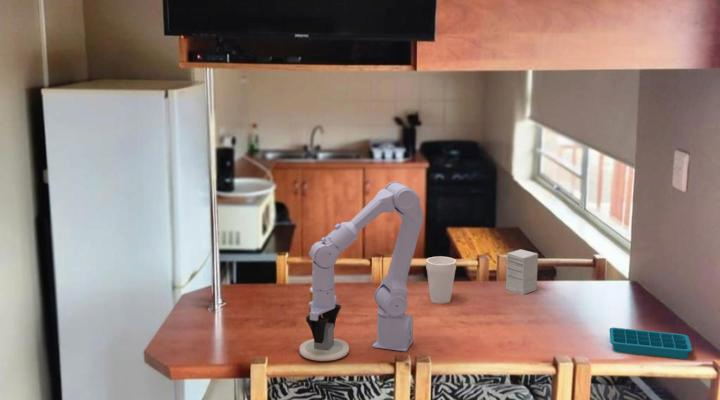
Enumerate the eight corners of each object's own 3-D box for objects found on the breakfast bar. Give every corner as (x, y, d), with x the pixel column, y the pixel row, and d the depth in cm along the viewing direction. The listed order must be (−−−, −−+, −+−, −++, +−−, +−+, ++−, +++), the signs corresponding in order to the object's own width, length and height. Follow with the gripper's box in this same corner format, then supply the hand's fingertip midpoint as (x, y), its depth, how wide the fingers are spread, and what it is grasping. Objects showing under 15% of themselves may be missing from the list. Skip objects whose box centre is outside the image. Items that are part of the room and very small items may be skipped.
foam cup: (425, 295, 249) (425, 256, 246) (453, 295, 248) (454, 256, 245) (426, 305, 239) (427, 265, 237) (456, 305, 239) (457, 265, 236)
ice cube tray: (608, 337, 215) (609, 327, 214) (686, 345, 209) (687, 334, 208) (609, 353, 204) (610, 342, 203) (691, 362, 198) (692, 351, 197)
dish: (355, 346, 208) (355, 340, 207) (338, 365, 196) (338, 359, 195) (310, 340, 212) (310, 334, 211) (291, 359, 200) (291, 353, 199)
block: (333, 344, 205) (333, 323, 203) (328, 350, 201) (328, 328, 200) (319, 342, 206) (319, 321, 205) (314, 348, 202) (313, 327, 201)
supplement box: (519, 285, 258) (520, 248, 256) (537, 290, 253) (538, 253, 250) (504, 289, 254) (506, 252, 251) (522, 295, 248) (524, 257, 246)
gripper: (319, 278, 208) (320, 325, 211) (298, 295, 194) (299, 345, 197) (343, 280, 206) (344, 328, 208) (324, 297, 192) (325, 348, 195)
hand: (324, 337), depth 203 cm, fingers open, 7 cm apart
